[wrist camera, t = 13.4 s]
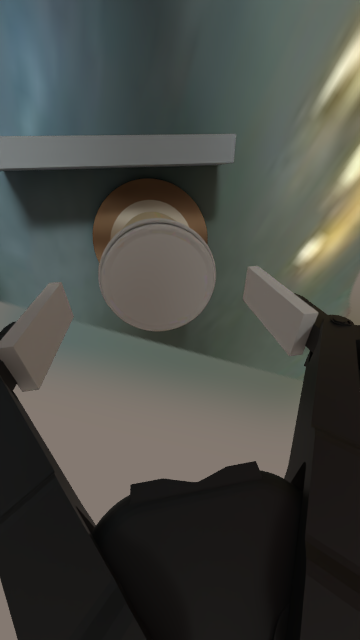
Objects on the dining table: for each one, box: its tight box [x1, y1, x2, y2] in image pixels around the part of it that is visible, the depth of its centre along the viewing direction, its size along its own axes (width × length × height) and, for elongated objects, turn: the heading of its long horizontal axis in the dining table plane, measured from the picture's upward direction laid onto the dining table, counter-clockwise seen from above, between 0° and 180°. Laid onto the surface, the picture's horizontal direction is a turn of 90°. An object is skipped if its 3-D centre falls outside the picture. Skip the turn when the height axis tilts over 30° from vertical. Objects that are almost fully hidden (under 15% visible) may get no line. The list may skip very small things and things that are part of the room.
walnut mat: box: [93, 178, 207, 263], centre depth 27 cm, size 14×14×1 cm
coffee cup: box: [98, 212, 216, 331], centre depth 22 cm, size 9×9×12 cm
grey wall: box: [0, 134, 236, 171], centre depth 20 cm, size 2×22×5 cm, turn 92°
